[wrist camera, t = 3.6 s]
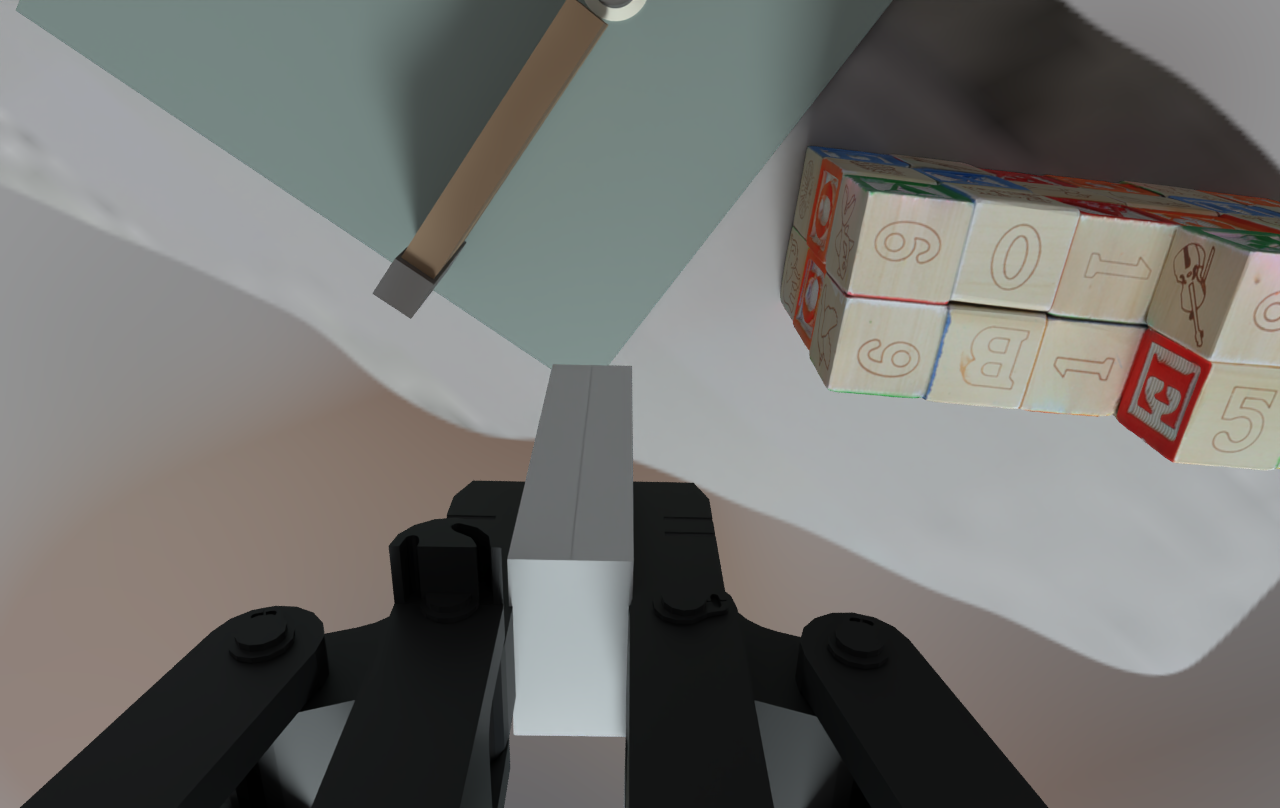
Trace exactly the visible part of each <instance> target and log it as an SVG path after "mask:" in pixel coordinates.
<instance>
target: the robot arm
mask: <svg viewBox="0 0 1280 808" xmlns="http://www.w3.org/2000/svg"><path fill="white" fill-rule="evenodd" d="M389 553H390V563H391V573H392V583H393V591H394V602H395V604H394V606H393V609H392V611H391V614H390V616H389V617H387V618H385V619H383V620H380V621H378V622H376V623H373V624H369V625H365V626H361V627H357V628H352V629H348V630H342V631H337V632H332V633H327V634H324V627H323V623H322V621H321V620H320V619H319V618H318V617H317V616H316V615H315V614H314V613H313V612H310V611H307V610H304V609H302V608H299V607H290V606H272V607H266V608H261V609H256V610H251V611H249V612H247V613H244V614H241V615H239V616H236V617H234V618H231V619H230V620H228V621H227V622H225V623H224V624H222V625H221V626H219V627H218V628H216V629H215V630H214V631H212V632H211V633H210V634H209V635H208V636H207V637H206V638H204V639H203V640H202V641H201V642H200V643H199V644H198V645H197V646H196V647H195V648H194V649H192V650H191V651H190V652H189V653H188V654H187V655H186V656H185V657H184V658H183V659H182V660H180V661H179V662H178V663H177V664H176V665H175V666H174V667H173V668H172V669H171V670H170V671H168V672H167V673H166V674H165V675H164V676H163V677H162V678H161V679H160V680H159V681H158V682H156V683H155V684H154V685H153V686H152V687H151V688H150V689H149V690H148V691H147V692H146V693H144V694H143V695H142V696H141V697H140V698H139V699H138V700H137V701H136V702H135V703H134V704H132V705H131V706H130V707H129V708H128V709H127V710H126V711H125V712H124V713H123V714H122V715H121V716H119V717H118V718H117V719H116V720H115V721H114V722H113V723H112V724H111V725H110V726H108V728H106V729H105V730H104V731H103V732H102V733H101V734H100V735H99V736H98V737H97V738H95V739H94V740H93V741H92V742H91V743H90V744H89V745H88V746H87V747H86V748H84V749H83V751H81V752H80V753H79V754H78V755H77V756H76V757H75V758H74V759H73V760H71V761H70V762H69V763H68V764H67V765H66V766H65V767H64V768H63V769H62V770H60V771H59V772H58V774H56V775H55V776H54V777H53V778H52V779H51V780H50V781H48V782H47V783H46V784H45V785H44V786H43V787H42V788H41V789H40V790H39V791H38V792H36V793H35V794H34V795H33V796H32V797H31V798H30V799H29V800H28V801H27V802H26V803H24V804H23V805H22V806H21V807H20V808H504V804H505V797H506V791H507V785H508V779H509V772H510V751H509V750H510V749H509V734H510V728H511V722H512V717H513V722H514V735H549V736H550V735H552V736H621V737H622V736H623V737H626V748H625V782H624V784H625V785H624V808H1048V807H1047V805H1046V804H1045V803H1044V802H1043V801H1042V799H1041V798H1040V797H1039V796H1038V795H1037V793H1036V792H1035V791H1034V790H1033V789H1032V787H1031V786H1030V785H1029V784H1028V782H1027V781H1026V780H1025V779H1024V778H1023V776H1022V775H1021V774H1020V773H1019V772H1018V771H1017V769H1016V768H1015V767H1014V766H1013V764H1012V763H1011V762H1010V761H1009V760H1008V758H1007V757H1006V756H1005V755H1004V754H1003V752H1002V751H1001V750H1000V749H999V748H998V746H997V745H996V744H995V743H994V742H993V740H992V739H991V738H990V737H989V736H988V734H987V733H986V732H985V731H984V730H983V728H982V727H981V726H980V725H979V723H978V722H977V721H976V720H975V719H974V717H973V716H972V715H971V714H970V713H969V711H968V710H967V709H966V708H965V707H964V705H963V704H962V703H961V702H960V701H959V699H958V698H957V697H956V696H955V694H954V693H953V692H952V691H951V690H950V688H949V687H948V686H947V685H946V684H945V683H944V681H943V680H942V679H941V678H940V676H939V675H938V674H937V673H936V672H935V670H934V669H933V668H932V667H931V666H930V665H929V663H928V662H927V661H926V659H925V658H924V657H923V656H922V655H921V654H920V652H919V651H918V650H917V649H916V647H915V646H914V645H913V644H912V643H911V641H910V640H909V639H908V638H906V637H905V636H904V635H903V634H902V633H901V632H899V631H898V630H897V629H896V628H895V627H893V626H891V625H889V624H887V623H885V622H883V621H881V620H878V619H877V618H874V617H870V616H865V615H861V614H856V613H830V614H827V615H824V616H820V617H817V618H815V619H813V620H812V621H811V622H810V623H809V624H808V625H807V626H805V627H804V629H803V632H802V636H801V637H797V636H793V635H789V634H785V633H781V632H777V631H773V630H770V629H767V628H764V627H761V626H759V625H757V624H755V623H753V622H751V621H749V620H747V619H746V618H744V617H743V616H742V615H741V614H739V613H738V610H737V607H736V605H735V603H734V601H733V599H732V597H731V596H730V595H729V594H728V593H726V592H725V588H724V582H723V577H722V571H721V565H720V559H719V554H718V548H717V542H716V537H715V531H714V525H713V521H712V513H711V508H710V502H709V499H708V498H707V497H706V495H705V494H704V493H703V492H702V491H701V490H700V489H699V488H698V487H697V486H696V485H695V484H694V483H676V482H633V431H632V366H607V365H565V364H553V366H552V370H551V374H550V378H549V383H548V387H547V391H546V396H545V400H544V404H543V408H542V413H541V417H540V421H539V425H538V430H537V434H536V438H535V443H534V447H533V451H532V455H531V460H530V464H529V469H528V473H527V477H526V481H525V482H513V481H512V482H511V481H472V482H471V483H470V484H468V485H467V486H466V487H465V488H464V489H462V490H461V491H460V492H459V493H457V494H456V495H455V496H454V497H453V500H452V503H451V506H450V508H449V510H448V513H447V518H446V519H434V520H431V521H427V522H424V523H420V524H417V525H414V526H412V527H410V528H409V529H407V530H405V531H403V532H402V533H400V534H398V535H397V537H396V538H395V539H394V540H393V541H392V543H391V544H390V545H389Z"/></svg>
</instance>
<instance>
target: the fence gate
mask: <svg viewBox="0 0 1280 808" xmlns="http://www.w3.org/2000/svg"><path fill="white" fill-rule="evenodd" d="M607 27H608V24H607V23H606V22H604V21H603V20H602V19H601V18H599V17H598V16H597V15H596V14H595V13H593V12H592V11H591V10H590V9H588V8H587V7H586V6H585V5H583V4H582V3H581V2H580V1H578V0H566V1H565V3H564V4H563V6H562V8H561V9H560V11H559V12H558V14H557V15H556V17H555V18H554V20H553V22H552V23H551V25H550V26H549V28H548V29H547V31H546V32H545V34H544V36H543V37H542V39H541V40H540V42H539V43H538V45H537V46H536V48H535V50H534V51H533V53H532V54H531V56H530V57H529V59H528V60H527V62H526V64H525V65H524V67H523V68H522V70H521V71H520V73H519V74H518V76H517V78H516V79H515V81H514V82H513V84H512V85H511V87H510V88H509V90H508V92H507V93H506V95H505V96H504V98H503V99H502V101H501V102H500V104H499V106H498V107H497V109H496V110H495V112H494V113H493V115H492V116H491V118H490V120H489V121H488V123H487V124H486V126H485V127H484V129H483V130H482V132H481V134H480V135H479V137H478V138H477V140H476V141H475V143H474V144H473V146H472V148H471V149H470V151H469V152H468V154H467V155H466V157H465V158H464V160H463V162H462V163H461V165H460V166H459V168H458V169H457V171H456V172H455V174H454V176H453V177H452V179H451V180H450V182H449V183H448V185H447V186H446V188H445V190H444V191H443V193H442V194H441V196H440V197H439V199H438V200H437V202H436V204H435V205H434V207H433V208H432V210H431V211H430V213H429V214H428V216H427V218H426V219H425V221H424V222H423V224H422V225H421V227H420V228H419V230H418V232H417V233H416V235H415V236H414V238H413V239H412V241H411V242H410V244H409V246H408V247H406V248H405V249H404V250H403V251H402V252H401V253H400V254H399V255H398V256H397V257H396V258H395V259H394V261H393V262H392V264H391V265H390V267H389V269H388V270H387V272H386V273H385V275H384V276H383V278H382V279H381V281H380V283H379V284H378V286H377V287H376V289H375V290H374V292H373V294H374V295H375V296H377V297H378V298H380V299H381V300H383V301H385V302H386V303H388V304H389V305H391V306H392V307H394V308H395V309H397V310H398V311H400V312H401V313H403V314H404V315H406V316H407V317H409V318H410V319H411V318H412V317H413V316H414V314H415V313H416V312H417V310H418V309H419V308H420V306H421V305H422V304H423V303H424V301H425V300H426V299H427V297H428V296H429V295H430V293H431V292H432V291H433V289H434V288H435V287H436V286H437V284H438V283H439V282H440V280H441V279H442V278H443V276H444V275H445V274H446V273H447V271H448V270H449V268H450V267H451V265H452V264H453V262H454V261H455V259H456V258H457V256H458V255H459V253H460V252H461V250H462V249H463V247H464V246H465V244H466V243H467V242H465V239H466V238H467V236H468V235H469V233H470V232H471V230H472V229H473V227H474V226H475V224H476V223H477V221H478V220H479V218H480V217H481V215H482V214H483V212H484V211H485V209H486V208H487V206H488V205H489V203H490V202H491V200H492V199H493V197H494V196H495V194H496V193H497V191H498V190H499V188H500V187H501V185H502V184H503V182H504V181H505V179H506V178H507V176H508V175H509V173H510V172H511V170H512V169H513V167H514V166H515V164H516V163H517V161H518V160H519V158H520V157H521V155H522V154H523V152H524V151H525V149H526V148H527V146H528V145H529V143H530V142H531V141H532V139H533V138H534V136H535V135H536V133H537V132H538V130H539V129H540V127H541V126H542V124H543V123H544V121H545V120H546V118H547V117H548V115H549V114H550V112H551V111H552V109H553V108H554V106H555V105H556V103H557V102H558V100H559V99H560V97H561V96H562V94H563V93H564V91H565V90H566V88H567V87H568V85H569V84H570V82H571V81H572V79H573V78H574V76H575V75H576V73H577V72H578V70H579V69H580V67H581V66H582V64H583V63H584V61H585V60H586V58H587V57H588V55H589V54H590V52H591V51H592V49H593V48H594V46H595V45H596V43H597V42H598V40H599V39H600V37H601V36H602V34H603V33H604V31H605V30H606V28H607Z"/></svg>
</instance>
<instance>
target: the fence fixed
mask: <svg viewBox="0 0 1280 808" xmlns="http://www.w3.org/2000/svg"><path fill="white" fill-rule="evenodd" d="M599 1H600V2H601V3H602V4H603V5H605V6H607V7H609V8H622V7H624V6H626V5H628V4H629V3H630V2H631V1H632V0H599Z"/></svg>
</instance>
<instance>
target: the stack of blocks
mask: <svg viewBox="0 0 1280 808" xmlns="http://www.w3.org/2000/svg"><path fill="white" fill-rule="evenodd" d="M780 298H781V302H782V304H783V306H784V308H785V310H786V311H787V313H788V314H789V316H790V317H791V319H792V320H793V325H794V327H795V329H796V330H797V332H798V334H799V335H800V337H801V339H802V340H803V342H804V344H805V345H806V347H807V348H808V350H809V351H810V359H811V361H812V363H813V365H814V366H815V368H816V370H817V372H818V374H819V375H820V377H821V379H822V381H823V383H824V385H825V386H826V388H827V389H828V390H830V391H834V392H844V393H856V394H868V395H881V396H889V397H902V398H920V397H922V398H924V399H925V400H927V401H932V402H941V403H953V404H963V405H974V406H987V407H998V408H1007V409H1017V408H1019V409H1023V410H1027V411H1032V412H1044V413H1056V414H1072V415H1085V416H1097V417H1098V416H1108V415H1112V414H1113V415H1114V416H1115V417H1116V419H1117V420H1118V421H1119V422H1120V423H1121V424H1122V425H1123V426H1125V427H1126V428H1127V429H1128V430H1130V431H1132V432H1133V433H1134V434H1136V435H1137V436H1138V437H1140V438H1141V439H1142V440H1143V441H1144V442H1145V443H1147V444H1149V445H1150V446H1151V447H1152V448H1153V449H1155V450H1156V451H1158V452H1159V453H1160V454H1161V455H1163V456H1164V457H1165V458H1167V459H1168V460H1170V461H1171V462H1174V463H1183V464H1195V465H1207V466H1224V467H1233V468H1243V469H1256V470H1268V471H1270V470H1273V469H1276V468H1277V469H1280V202H1278V201H1274V200H1270V199H1265V198H1257V197H1249V196H1241V195H1233V194H1224V193H1216V192H1208V191H1201V190H1192V189H1186V188H1179V187H1172V186H1164V185H1156V184H1148V183H1139V182H1131V181H1121V182H1119V183H1109V182H1105V181H1095V180H1086V179H1078V178H1070V177H1061V176H1054V175H1043V176H1037V175H1031V174H1024V173H1016V172H1007V171H998V170H990V169H981V168H976V167H974V166H971V165H969V164H966V163H962V162H954V161H946V160H938V159H930V158H921V157H913V156H905V155H896V154H887V155H884V154H876V153H869V152H861V151H852V150H844V149H835V148H825V147H817V146H808V148H807V151H806V157H805V163H804V168H803V174H802V179H801V184H800V190H799V195H798V200H797V206H796V211H795V216H794V224H793V227H792V230H791V235H790V240H789V245H788V250H787V255H786V261H785V267H784V273H783V279H782V286H781V295H780Z"/></svg>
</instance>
